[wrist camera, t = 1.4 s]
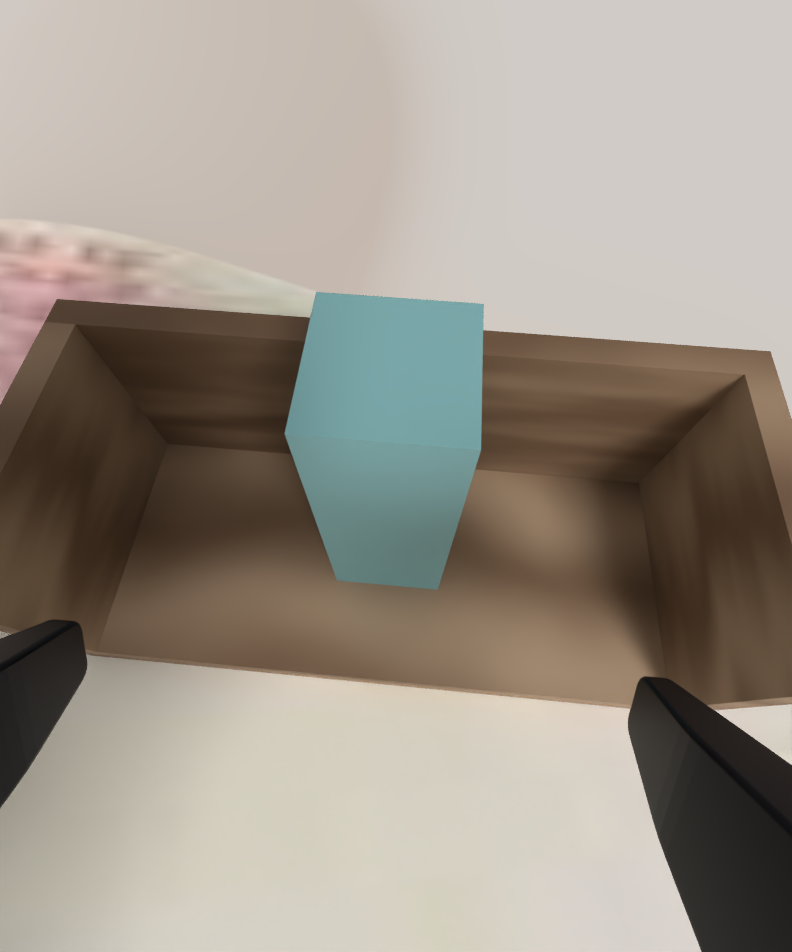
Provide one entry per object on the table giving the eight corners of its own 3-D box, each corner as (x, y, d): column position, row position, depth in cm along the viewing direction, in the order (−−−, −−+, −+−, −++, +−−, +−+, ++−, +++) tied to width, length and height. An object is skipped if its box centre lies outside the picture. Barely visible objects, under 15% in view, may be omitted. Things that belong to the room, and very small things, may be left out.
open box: (677, 713, 19) (878, 697, 11) (91, 655, 20) (-106, 602, 12) (643, 480, 24) (770, 351, 16) (165, 440, 25) (57, 299, 17)
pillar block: (437, 589, 20) (481, 450, 10) (336, 580, 20) (284, 433, 10) (442, 497, 22) (483, 304, 12) (350, 489, 22) (316, 292, 12)
